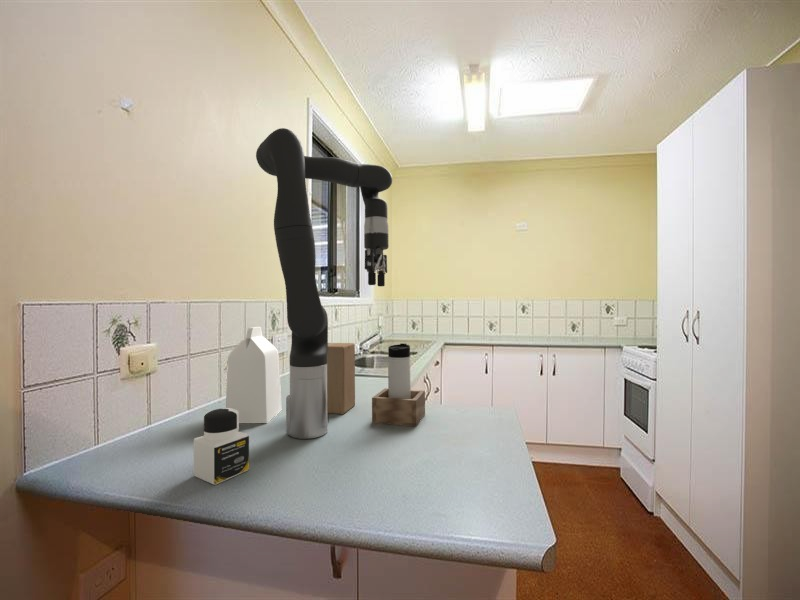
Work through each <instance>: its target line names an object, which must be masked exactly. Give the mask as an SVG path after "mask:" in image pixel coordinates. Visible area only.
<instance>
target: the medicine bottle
mask: <svg viewBox="0 0 800 600" xmlns="http://www.w3.org/2000/svg"><path fill="white" fill-rule="evenodd" d="M239 430H240V424H239V412H238V411H237V410H235V409H232V408H226V407H223V408H216V409H213V410H211V411H209V412H207V413H205V414H204V416H203V435H201V436H198V437H195V438H193V477H196V478H198V479H200V480H202V481H204V482H207V483H208V484H211V485H214V486H217V485H219V484H221V483H224V482H225V481H227V480H231V479H232V478H234V477H237V476H239V475H241V474H244V473H245V472H248V471H249V470H250V435H249V434H248V433H245V432H242V431H239Z"/></svg>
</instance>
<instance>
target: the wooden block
mask: <svg viewBox="0 0 800 600" xmlns="http://www.w3.org/2000/svg"><path fill="white" fill-rule="evenodd" d="M355 346H356V345H355V343H353V342H328V352H327V414H332V413H333V414H334V415H344V414H346V413H347V412H348V411H349V410H351V409H353V408H354V407H355V405H356V376H355V375H356V357H355V356H356V354H355V353H356V350H355V348H356V347H355Z"/></svg>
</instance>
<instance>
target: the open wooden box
mask: <svg viewBox="0 0 800 600" xmlns="http://www.w3.org/2000/svg"><path fill="white" fill-rule="evenodd" d="M410 392H411V399H403V398H389V397H388V388H383V389H382V390H381V391H379V392H378V393H376V394H375V395H373V396H372V397H371V423H372V424H381V425H382V424H384V425H395V426H408V427H417V426H418V425H419V424H418V423H420V422H421V421H422V419H423V418H424V416H425V415H426V391H425V390H423V389H422V390H421V389H420V390H419V389H410ZM424 414H425V415H424ZM423 415H424V416H423ZM422 417H423V418H422ZM420 420H421V421H420Z"/></svg>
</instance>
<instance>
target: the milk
mask: <svg viewBox="0 0 800 600" xmlns="http://www.w3.org/2000/svg"><path fill="white" fill-rule="evenodd" d="M246 331H247V332H246V336H245V338H243V339H242V340H241V341H239V343H238V345H237V346H236V347H235V348H233V350H232V351H231V352H230V353H229V354H228V358H227V369H226V371H227V372H226V393H225V394H226V395H225V408H232V409H235V410H237V411H238V412H239V423H267V424H268V423H270V420H271V419H272V418H273V417H274V416H275V417H276V416H278V415H279V414H280V413H281V412H282V411H283V410H282V408H283V407H282V391H281V389H282V388H281V374H280V373H281V372H280V358H279V350H278V349H277V348H276V347H275V345H274V344H272V343H271V342H270V341H269V340H268V338H266V337H265V336H263V332H262V331H263V330H262V326H253V327H247V330H246ZM281 410H282V411H281ZM280 411H281V412H280ZM279 412H280V413H279ZM278 413H279V414H278ZM277 414H278V415H277ZM275 417H274V418H275ZM274 418H273V419H274ZM273 419H272V420H273ZM272 420H271V421H272Z"/></svg>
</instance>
